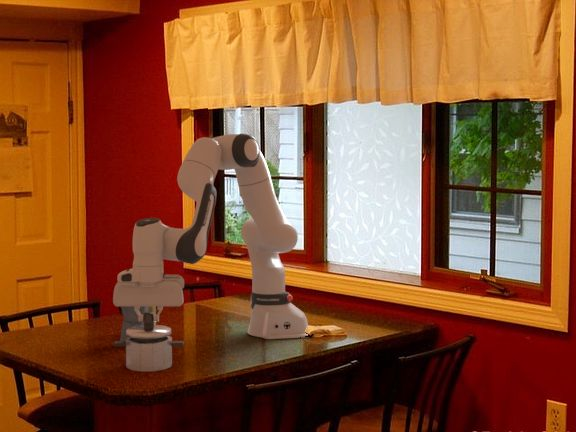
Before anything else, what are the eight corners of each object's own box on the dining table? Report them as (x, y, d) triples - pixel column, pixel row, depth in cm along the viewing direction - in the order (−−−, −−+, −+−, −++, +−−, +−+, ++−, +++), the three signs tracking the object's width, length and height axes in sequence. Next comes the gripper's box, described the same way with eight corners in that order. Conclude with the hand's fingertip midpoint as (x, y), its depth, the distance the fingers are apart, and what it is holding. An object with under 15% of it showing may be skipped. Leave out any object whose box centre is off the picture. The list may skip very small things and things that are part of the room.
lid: (173, 328, 282) (173, 308, 281) (169, 338, 269) (168, 317, 268) (129, 328, 281) (129, 308, 281) (123, 338, 268) (123, 317, 268)
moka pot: (141, 350, 294) (140, 286, 292) (104, 343, 303) (103, 282, 300) (160, 343, 302) (160, 282, 300) (124, 337, 311) (123, 277, 308)
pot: (184, 359, 283) (184, 333, 282) (182, 371, 270) (181, 343, 269) (117, 360, 282) (117, 333, 281) (111, 371, 269) (111, 344, 268)
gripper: (184, 272, 277) (185, 318, 278) (114, 272, 276) (115, 318, 277) (183, 276, 271) (183, 323, 272) (111, 276, 270) (112, 323, 271)
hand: (148, 321), depth 275 cm, fingers closed on lid, 3 cm apart
